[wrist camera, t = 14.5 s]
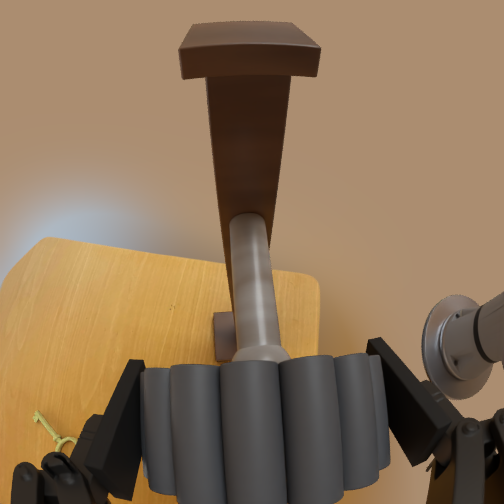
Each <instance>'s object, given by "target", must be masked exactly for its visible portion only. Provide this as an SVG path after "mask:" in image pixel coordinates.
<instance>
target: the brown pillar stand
mask: <svg viewBox="0 0 504 504" xmlns="http://www.w3.org/2000/svg"><path fill="white" fill-rule="evenodd" d="M178 51H179V60H180V67H181V76H182V79H183V80H185V79H194V78H204V77H205V81H206V91H207V104H208V114H209V125H210V136H211V145H212V155H213V165H214V173H215V182H216V191H217V199H218V208H219V216H220V224H221V232H222V240H223V248H224V254H225V263H226V270H227V277H228V284H229V291H230V298H231V305H232V312H217V313H214V335H215V354H216V361H217V362H220V361H231V362H235V361H247V360H269V361H275V362H277V363H280V362H282V361H285V360H289V359H291V358H290V356H289V355H288V353H287V352H286V351H285V349H283V348H282V347H281V340H280V332H279V323H278V316H277V308H276V300H275V292H274V285H273V277H272V270H271V263H270V255H269V248H270V241H271V233H272V227H273V219H274V212H275V204H276V197H277V190H278V182H279V174H280V166H281V158H282V151H283V143H284V134H285V126H286V117H287V109H288V101H289V92H290V82H291V76H305V77H317V72H318V66H319V59H320V53H321V47H320V46H319V45H317V44H316V43H315V42H314V41H313V40H312V39H311V38H310V37H308V36H307V35H306V34H305V33H303V32H302V31H301V30H300V29H299V28H297V27H296V26H295V25H294V24H293V23H288V22H271V21H230V22H213V23H201V24H193V25H192V26H191V28H190V30H189V32H188V33H187V35H186V37H185V38H184V41H183V42H182V44H181V46H180V47H179V50H178Z"/></svg>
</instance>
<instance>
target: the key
mask: <svg viewBox="0 0 504 504" xmlns="http://www.w3.org/2000/svg"><path fill="white" fill-rule="evenodd" d="M33 419H34V420H35V422H36V423H37V422H38V420H40V421H41V422H42V424H43V425H44V426H45V428H46V429H47V430H48V431H49V433H50V434H51V435H52V436H53V438H54V439H53V440H54V441H57V442H58V444H57V446H56V452H61V448H62V446H63V444H64V443H65V442H67V441H69V440H71V441H73V442H74V443H75V444H76V443H77V440H78V439H76V438H74V437H65V438H63V439H61V436H60V435H57V433H56V432H55V431H54V430H53V428H52V427H51V426H50V425H49V423H48V422H47V421H46V420H45V418H44V417H43V416H42V414H41V413H40V412H39V410H38V411H36V412H35V415H34V417H33Z"/></svg>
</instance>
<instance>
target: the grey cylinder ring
mask: <svg viewBox="0 0 504 504" xmlns="http://www.w3.org/2000/svg"><path fill="white" fill-rule="evenodd" d="M140 426H141V447H142V461H143V473H144V476H145V477H146V478H147V479H148V482H149V488H150V489H151V490H152V491H154V492H156V493H160V494H164V495H174V496H177V502H178V503H179V504H287V503H288V504H334V503H336V502H338V501H339V500H341V499H342V497H343V496H344V491H347V490H355V489H360V488H364V487H367V486H369V485H372V484H373V483H375V482H376V481H377V480H378V479H379V470H382V469H384V468H386V467H387V466H389V464H390V441H389V425H388V414H387V404H386V395H385V386H384V379H383V372H382V365H381V358H380V356H379V355H371V356H368V354H367V353H356V354H350V355H344V356H339V357H335V358H333V357H332V356H330V355H317V356H307V357H300V358H294V359H289V360H285V361H282V362H280V363H277V362H275V361H269V360H247V361H235V362H228V363H224V364H221V365H220V366H215V365H203V364H179V365H173V366H171V367H170V368H145V370H144V372H141V373H140Z"/></svg>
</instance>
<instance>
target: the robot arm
mask: <svg viewBox="0 0 504 504" xmlns="http://www.w3.org/2000/svg"><path fill="white" fill-rule="evenodd" d="M366 353H367V354H368V356H371V355H379V356H380V358H381V365H382V372H383V379H384V386H385V395H386V404H387V414H388V425H389V428H390V429H391V431H392V433H393V434H394V436H395V438H396V439H397V441H398V443H399V444H400V446H401V448H402V450H403V451H404V453H405V455H406V457H407V458H408V460H409V462H410V463H411V465H412V467H413V466H416V465H418V464H420V463H422V462H424V461H426V460H427V459H428V458H429V456H430V455H431V454H432V453H433V455H434V456H435V458H434V459H433V461H432V462H431V463H430V464H429V466H428V467H427V469H426V472H428V471H429V469H430V468H431V467H432V470H431V477H430V484H429V490H428V496H427V501H426V504H504V408H503V409H499V410H497V412H496V413H495V414H494V416H493V418H491V419H487V420H484V421H480V422H479V421H478V420H476V419H474V418H464V417H463V416H462V415H461V414H460V413H459V411H458V410H457V409H456V408H455V407H454V406H453V404H452V403H451V402H450V401H449V400H448V399H447V398H446V396H445V395H444V394H443V393H441V391H440V390H439V388H438V387H437V386H436V385H435V384H433V383H431V382H429V381H427V380H425V381H422V382H419V380H418V379H417V378H416V377H415V376H414V374H413V373H412V372H411V371H410V370H409V369H408V367H407V366H406V365H405V364H404V363H403V362H402V361H401V359H400V358H399V357H398V356H397V355H396V354H395V353H394V351H393V350H392V349H391V348H390V347H389V346H388V345H387V344H386V343H385V341H384V340H383V339H382V338H381V337H378V338H374V339H369V340H368V343H367V349H366ZM440 353H441V357H442V361H443V364H444V366H445V368H446V370H447V371H448V373H449V374H450V375H451V376H452V377H453V378H455V379H457V380H460V381H467V380H471V379H474V378H476V377H478V376H479V375H480V374H482V373H483V372H484V371H485V370H487V369H488V368H489V367H490V366H491V365H492V364H494V363H496V362H498V361H502V365H503V368H504V292H502V293H501V294H499V295H498V296H496V297H495V298H493V299H492V300H490V301H489V302H487V303H485V304H484V305H482V306H480V307H471V308H464V309H460V310H458V311H456V312H454V313H453V314H451V315H450V316H449V317H448V318H447V320H446V321H445V323H444V325H443V327H442V331H441V335H440ZM145 368H146V367H145V364H144V361H143V360H133V359H129V361H128V363H127V365H126V367H125V369H124V371H123V374H122V376H121V378H120V380H119V382H118V384H117V386H116V388H115V390H114V393H113V395H112V397H111V399H110V401H109V404H108V406H107V408H106V410H105V413H104V415H98V414H93V415H92V416H91V417H90V418H89V419H88V420H87V421H86V423H85V425H84V427H83V431H82V432H81V434H80V436H79V437H80V438H78V440H77V443H76V445H75V447H74V449H73V452H72V454H71V456H70V459H69V458H68V456H66V455H65V454H64V453H61V452H51V453H48V454H47V455H46V456H45V457H44V458H43V460H42V462H41V468H42V469H43V470H38V469H37V468H36V467H35V466H34V465H32V464H31V463H28V462H22V463H20V464H18V465H17V466H16V467H15V469H14V472H13V480H12V491H11V504H111V502H110V501H109V499H108V498H107V497H108V493H109V492H110V493H111V494H112V495H113V496H114V497H115V498H119V499H124V500H129V501H132V497H133V492H134V488H135V483H136V478H137V474H138V470H139V465H140V461H141V457H142V447H141V426H140V373H141V372H144V370H145ZM496 449H497V450H498V454H497V453H496V451H495V450H496Z"/></svg>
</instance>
